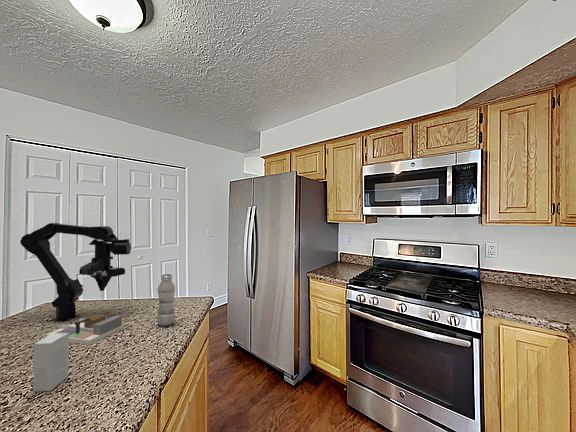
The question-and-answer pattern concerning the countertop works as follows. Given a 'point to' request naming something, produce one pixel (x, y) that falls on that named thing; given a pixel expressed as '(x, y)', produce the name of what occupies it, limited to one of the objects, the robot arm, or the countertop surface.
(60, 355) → the skincare box
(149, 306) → the countertop surface
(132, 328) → the countertop surface
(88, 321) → the slider
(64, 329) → the gauge base
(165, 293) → the plastic bottle
